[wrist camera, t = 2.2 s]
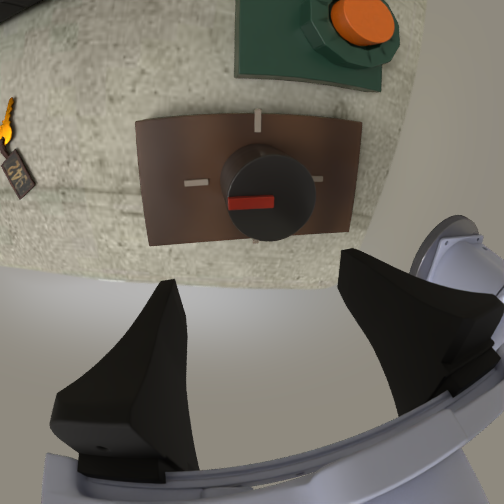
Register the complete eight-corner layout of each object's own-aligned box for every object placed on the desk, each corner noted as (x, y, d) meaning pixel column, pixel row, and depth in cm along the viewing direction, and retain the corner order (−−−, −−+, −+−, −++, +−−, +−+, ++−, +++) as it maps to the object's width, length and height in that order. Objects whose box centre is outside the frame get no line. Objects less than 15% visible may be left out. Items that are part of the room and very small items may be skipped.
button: (377, 8, 11) (393, 2, 9) (379, 52, 13) (396, 49, 11) (329, -7, 10) (342, -16, 9) (330, 39, 12) (344, 34, 11)
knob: (293, 144, 16) (322, 156, 12) (289, 211, 18) (314, 241, 14) (219, 144, 15) (226, 156, 11) (221, 215, 17) (228, 248, 13)
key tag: (37, 190, 16) (33, 193, 16) (14, 202, 16) (10, 205, 15) (13, 96, 12) (9, 96, 11) (-10, 113, 12) (-14, 114, 11)
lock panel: (341, 115, 18) (364, 118, 15) (331, 219, 22) (349, 236, 20) (144, 115, 16) (134, 116, 13) (155, 231, 20) (149, 252, 17)
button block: (366, -3, 13) (394, -15, 9) (367, 92, 17) (399, 93, 14) (236, -28, 11) (246, -53, 8) (234, 78, 16) (243, 70, 12)
